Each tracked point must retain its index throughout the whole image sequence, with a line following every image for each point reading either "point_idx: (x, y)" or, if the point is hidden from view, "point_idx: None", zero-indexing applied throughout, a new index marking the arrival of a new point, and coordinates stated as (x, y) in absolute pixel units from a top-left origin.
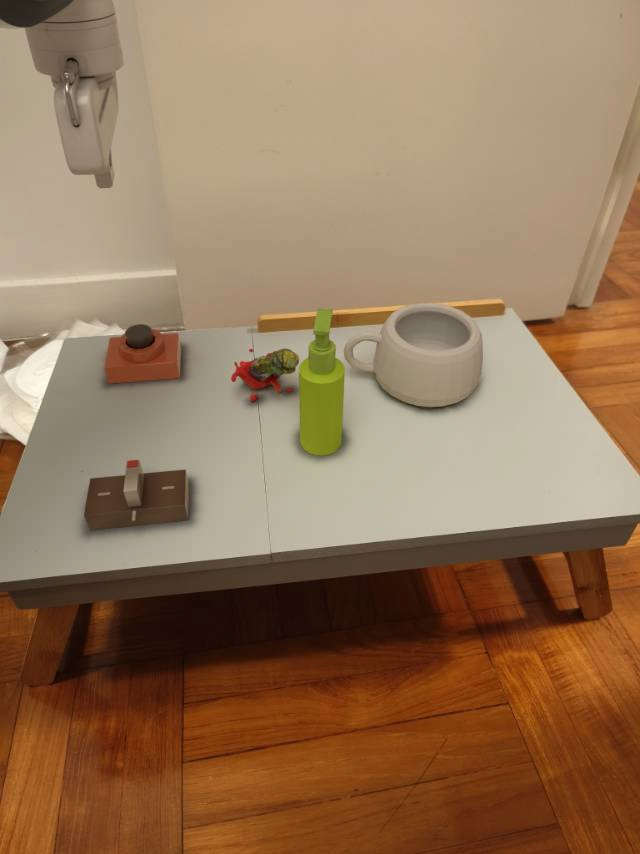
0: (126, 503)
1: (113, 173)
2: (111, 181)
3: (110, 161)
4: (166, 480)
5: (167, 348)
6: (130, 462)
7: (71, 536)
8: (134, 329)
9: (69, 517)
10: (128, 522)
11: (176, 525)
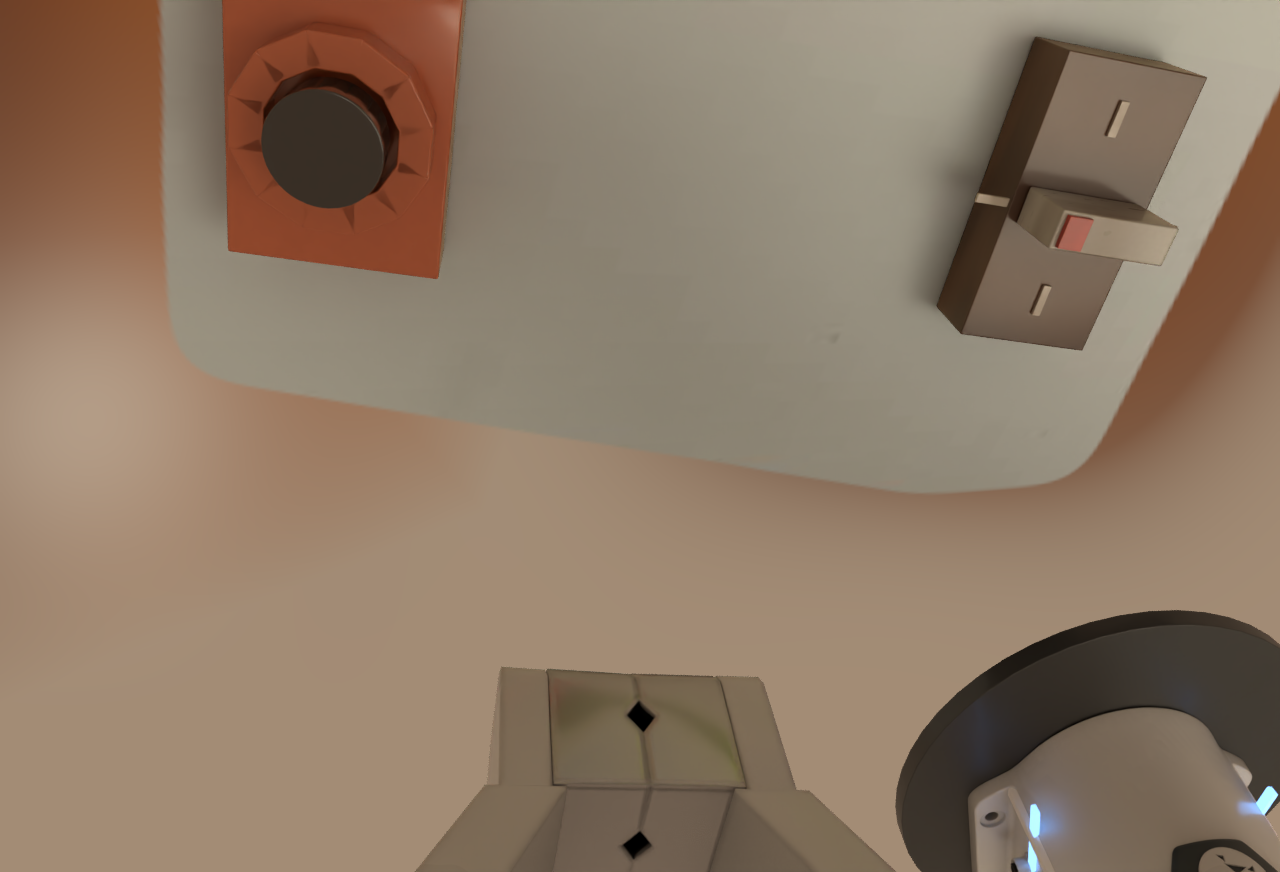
0: None
1: (559, 702)
2: (769, 713)
3: (556, 817)
4: (1082, 120)
5: (349, 13)
6: (1070, 239)
7: (1044, 363)
8: (303, 166)
9: (983, 368)
10: None
11: None
